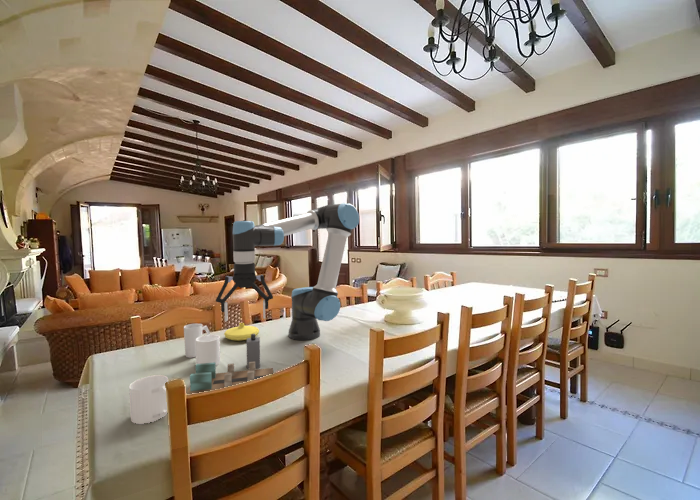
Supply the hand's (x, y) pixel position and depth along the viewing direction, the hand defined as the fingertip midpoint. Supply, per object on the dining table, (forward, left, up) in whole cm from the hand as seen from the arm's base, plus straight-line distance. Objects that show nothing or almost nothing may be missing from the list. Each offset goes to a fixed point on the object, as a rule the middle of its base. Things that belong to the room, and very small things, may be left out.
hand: (245, 319), depth 122 cm
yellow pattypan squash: (+4, -32, -18) cm, 37 cm away
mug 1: (+22, +30, -18) cm, 41 cm away
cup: (+15, -5, -18) cm, 24 cm away
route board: (+3, +15, -18) cm, 23 cm away
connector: (-3, +2, -18) cm, 18 cm away
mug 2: (+20, -16, -18) cm, 31 cm away
